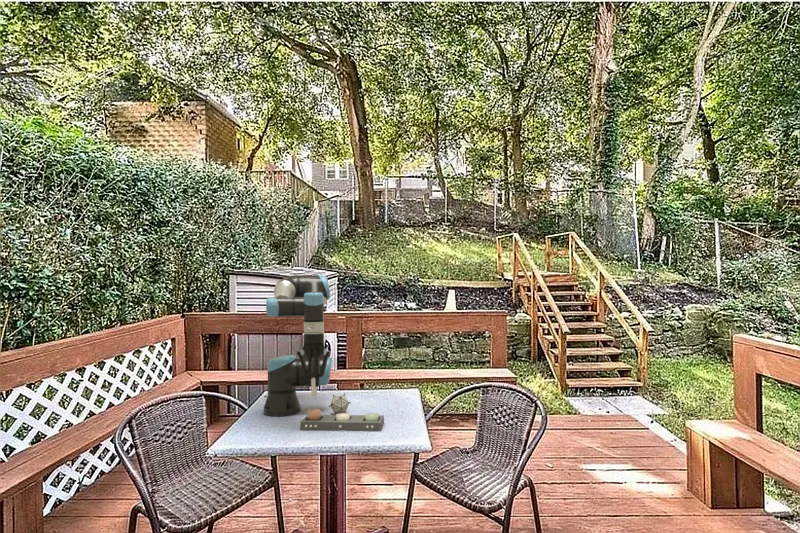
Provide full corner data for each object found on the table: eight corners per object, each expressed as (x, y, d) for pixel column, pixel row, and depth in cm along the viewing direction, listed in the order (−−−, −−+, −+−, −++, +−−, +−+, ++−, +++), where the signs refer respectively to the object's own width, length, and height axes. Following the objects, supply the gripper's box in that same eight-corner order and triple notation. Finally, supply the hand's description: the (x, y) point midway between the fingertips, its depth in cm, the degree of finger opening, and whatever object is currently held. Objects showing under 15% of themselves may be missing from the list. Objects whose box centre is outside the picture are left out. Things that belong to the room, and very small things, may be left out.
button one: (335, 426, 206) (335, 416, 207) (337, 422, 211) (337, 412, 212) (348, 426, 206) (348, 416, 206) (350, 423, 211) (350, 413, 211)
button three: (306, 422, 207) (306, 411, 207) (309, 418, 212) (309, 408, 212) (319, 422, 207) (319, 412, 207) (322, 418, 212) (322, 408, 212)
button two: (364, 426, 206) (364, 416, 206) (366, 423, 211) (366, 413, 211) (377, 426, 205) (377, 416, 205) (379, 423, 210) (379, 413, 210)
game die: (342, 423, 227) (345, 407, 221) (324, 415, 229) (326, 399, 223) (351, 409, 234) (355, 392, 229) (333, 401, 236) (336, 385, 230)
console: (299, 430, 204) (299, 422, 204) (307, 422, 215) (307, 414, 215) (380, 431, 202) (380, 423, 202) (384, 423, 213) (383, 415, 213)
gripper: (294, 333, 207) (294, 397, 207) (328, 333, 206) (329, 397, 205) (299, 332, 215) (299, 393, 214) (332, 332, 214) (333, 393, 213)
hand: (314, 395), depth 210 cm, fingers closed
